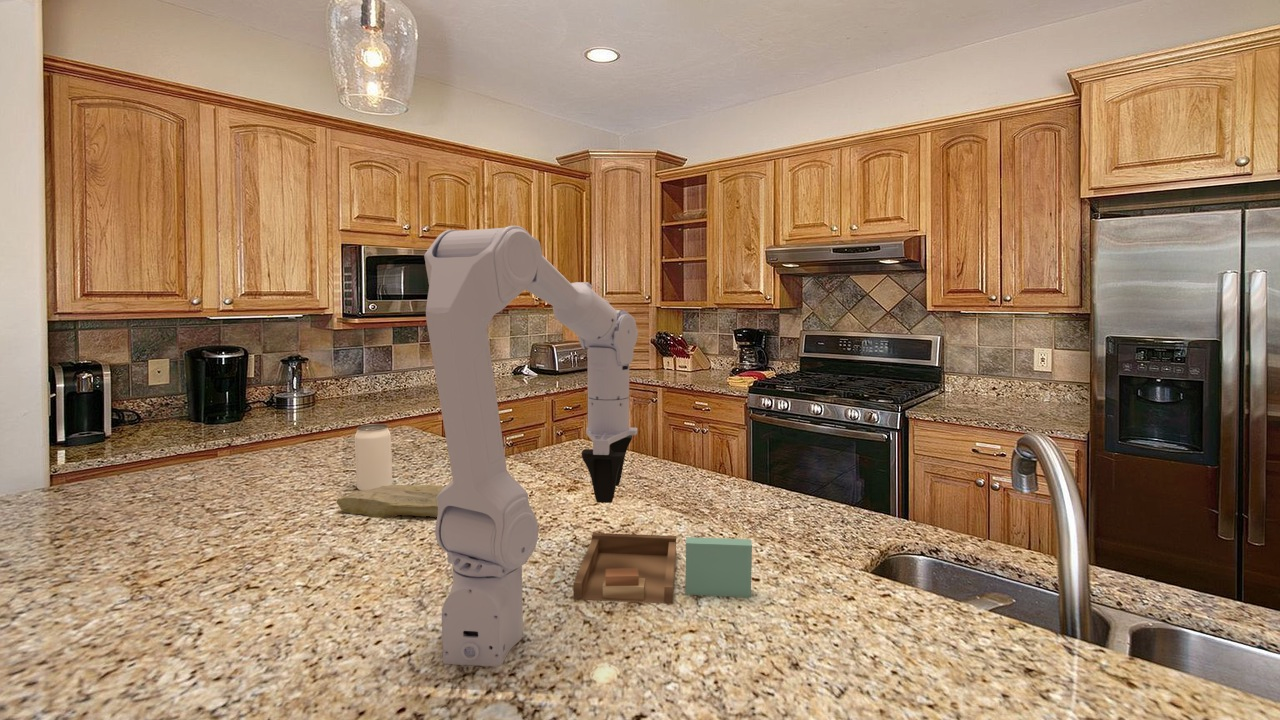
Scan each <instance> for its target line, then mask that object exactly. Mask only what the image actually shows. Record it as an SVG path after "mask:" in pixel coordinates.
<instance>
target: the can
mask: <svg viewBox="0 0 1280 720" xmlns="http://www.w3.org/2000/svg"><path fill="white" fill-rule="evenodd" d="M354 454H355V455H354V456H355V477H356V478H355V481H356V482H355V483H356V488H357V489H358V491H363V490H370V489H374V488H379V487H382V486H390V485H393V458H392V435H391V431H390V430H389V425H387V424H384V423H371V424H363V425H360V426H359V425H358V426H357V427H356V433H355V435H354Z"/></svg>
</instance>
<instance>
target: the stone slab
mask: <svg viewBox="0 0 1280 720" xmlns="http://www.w3.org/2000/svg"><path fill="white" fill-rule="evenodd" d="M445 486H446V485H437V484H436V485H435V484H434V485H433V484H422V485H421V484H419V485H417V484H415V485H414V484H392V485H390V486H382V487H379V488H374V489H370V490H363V491H360V490H356V491H353V492H350V494H348V495H347V494H345V495H343V496H342V495H341V496H339V497H338V498H337V499H336V504H337V506H338V507H339V508H340V509H341V510H342V512H344V513H347V514H351V515H356V514H357V515H364V516H367V517H370V518H388V517H387V516H391V517H396V516H395V515H402V516H414V517H426V516H430V518H431V517H432V518H436V517H437V516H438V504H437V498H436V497H437V495H438V494H439V493H440V492H441V491H442V489H443V488H444V487H445Z"/></svg>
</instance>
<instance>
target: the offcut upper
mask: <svg viewBox="0 0 1280 720" xmlns="http://www.w3.org/2000/svg"><path fill="white" fill-rule="evenodd" d="M637 585H639V574H638V568H622V569H606V586H637Z"/></svg>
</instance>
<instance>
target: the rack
mask: <svg viewBox="0 0 1280 720" xmlns="http://www.w3.org/2000/svg"><path fill="white" fill-rule="evenodd" d="M676 559H677V536H676V535H660V534H659V535H658V534H657V535H656V534H634V533H633V534H632V533H631V534H629V533H606V532H605V533H603V532H602V533H601V532H593V533H592V535H591V540H590V542H589V545H588V547H587V550H586V552H585V555H584V556H583V560H582V562H581V564H580V567H579V569H578V572H577V574H576V576H575V578H574V579H573V580H574V581H573V583H572V584H573V589H572V591H573V593H572V594H573V595H572V596H573V598H572V599H573V600H581V601H605V602H623V603H624V602H626V603H627V602H628V603H646V604H648V603H649V604H669V605H673V604H674V603H673V602H674V590H675V577H676V576H675V574H676V562H677V561H676ZM622 568H638V574H639V578H645V596H644V600H631V599H609V598H603V583H604V580H605V577H606V569H622Z"/></svg>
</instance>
